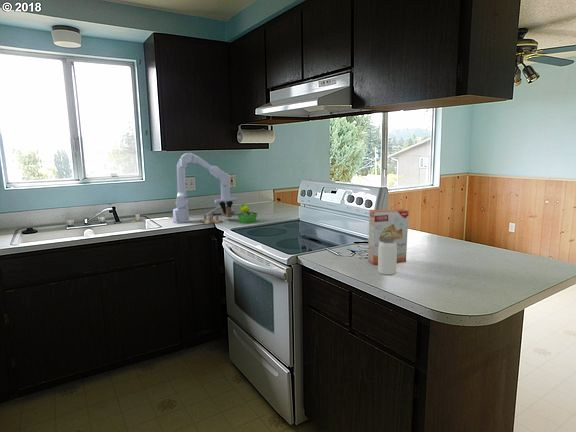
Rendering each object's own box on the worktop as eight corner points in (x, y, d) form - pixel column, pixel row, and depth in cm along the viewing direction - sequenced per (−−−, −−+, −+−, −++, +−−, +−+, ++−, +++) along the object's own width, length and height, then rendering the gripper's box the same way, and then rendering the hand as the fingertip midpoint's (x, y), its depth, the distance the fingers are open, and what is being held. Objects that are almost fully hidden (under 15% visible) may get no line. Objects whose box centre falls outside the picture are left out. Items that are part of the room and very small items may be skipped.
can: (398, 275, 136) (399, 242, 133) (379, 275, 136) (380, 242, 134) (393, 269, 142) (394, 238, 140) (376, 269, 142) (377, 238, 140)
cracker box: (373, 265, 148) (374, 212, 144) (367, 260, 153) (368, 209, 150) (407, 262, 150) (409, 210, 146) (400, 258, 156) (401, 207, 152)
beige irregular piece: (207, 224, 234) (206, 217, 234) (200, 221, 244) (199, 215, 243) (222, 222, 240) (221, 215, 239) (214, 219, 250) (214, 213, 249)
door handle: (211, 223, 265) (234, 209, 260) (205, 213, 265) (228, 199, 259) (221, 218, 282) (242, 205, 277) (215, 209, 282) (236, 195, 276)
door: (228, 217, 240) (227, 208, 239) (221, 215, 249) (221, 206, 248) (231, 217, 242) (231, 207, 241) (225, 214, 250) (224, 205, 249)
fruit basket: (245, 224, 232) (244, 205, 230) (235, 222, 238) (234, 204, 236) (258, 221, 241) (258, 203, 239) (248, 219, 246) (248, 202, 244)
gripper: (217, 193, 235) (218, 215, 238) (238, 191, 243) (239, 212, 245) (212, 192, 241) (214, 213, 243) (233, 190, 249) (234, 211, 251)
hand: (226, 213), depth 245 cm, fingers closed on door, 2 cm apart
